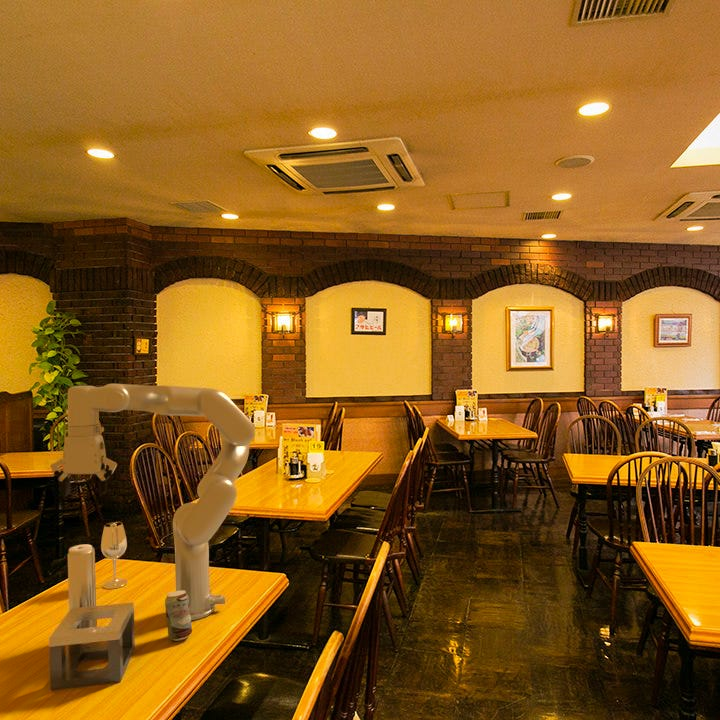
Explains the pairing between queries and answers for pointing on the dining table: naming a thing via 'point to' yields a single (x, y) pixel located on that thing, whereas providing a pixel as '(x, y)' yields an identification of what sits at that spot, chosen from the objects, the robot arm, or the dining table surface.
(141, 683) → the dining table surface
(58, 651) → the collar stand
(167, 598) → the beverage can
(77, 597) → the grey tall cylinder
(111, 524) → the wineglass
